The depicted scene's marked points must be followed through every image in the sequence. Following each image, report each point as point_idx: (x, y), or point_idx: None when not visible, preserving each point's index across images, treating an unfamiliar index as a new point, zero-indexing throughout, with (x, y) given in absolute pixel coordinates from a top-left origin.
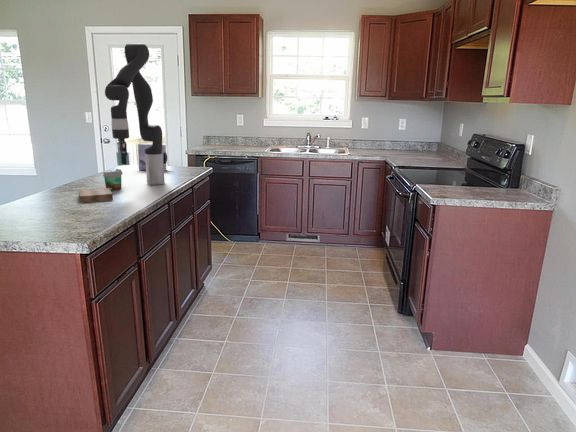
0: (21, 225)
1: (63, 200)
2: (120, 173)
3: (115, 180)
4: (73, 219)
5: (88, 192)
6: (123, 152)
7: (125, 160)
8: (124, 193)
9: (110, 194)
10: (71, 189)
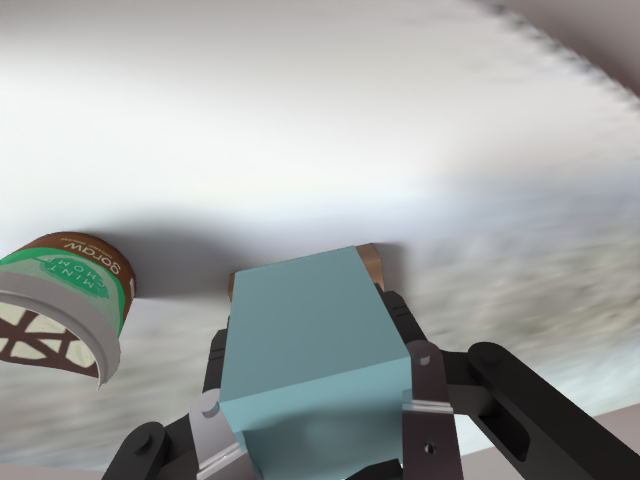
0: (580, 401)
1: None
2: (32, 287)
3: (100, 288)
4: (603, 317)
5: None
6: (352, 422)
7: (409, 312)
8: (220, 203)
9: (381, 265)
10: (100, 425)
